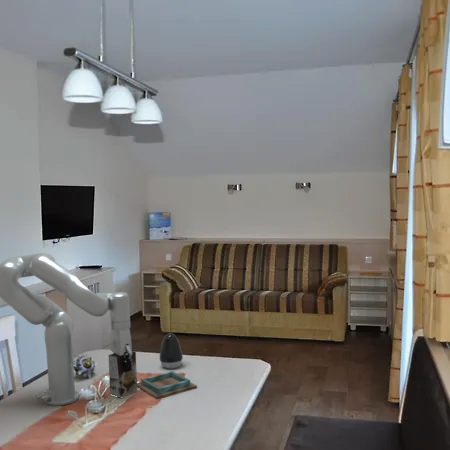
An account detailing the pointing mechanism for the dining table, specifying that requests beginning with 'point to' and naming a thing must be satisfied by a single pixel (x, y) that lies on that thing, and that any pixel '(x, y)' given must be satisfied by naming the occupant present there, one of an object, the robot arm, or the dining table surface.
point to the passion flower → (84, 366)
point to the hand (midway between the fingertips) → (122, 368)
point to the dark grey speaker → (170, 352)
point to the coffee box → (122, 376)
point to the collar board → (165, 385)
